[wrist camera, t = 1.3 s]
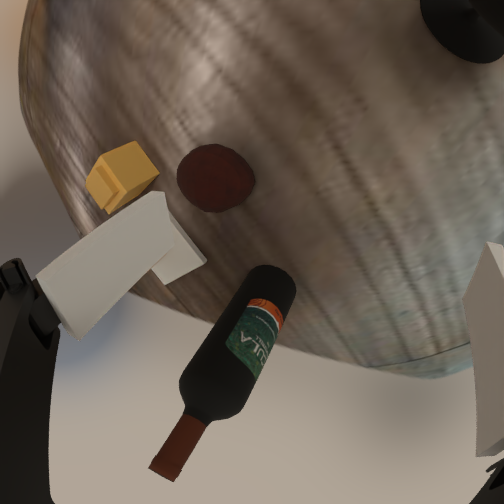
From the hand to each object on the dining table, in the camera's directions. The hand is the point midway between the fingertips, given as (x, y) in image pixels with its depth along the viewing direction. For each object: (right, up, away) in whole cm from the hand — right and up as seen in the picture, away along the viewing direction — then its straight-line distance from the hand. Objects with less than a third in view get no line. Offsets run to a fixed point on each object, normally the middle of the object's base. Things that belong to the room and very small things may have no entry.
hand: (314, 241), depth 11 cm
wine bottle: (+1, -5, +33) cm, 33 cm away
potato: (-5, +10, +25) cm, 27 cm away
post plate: (-17, +1, +37) cm, 40 cm away
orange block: (-20, +12, +30) cm, 38 cm away
